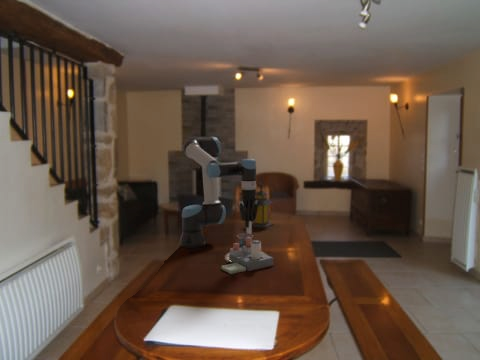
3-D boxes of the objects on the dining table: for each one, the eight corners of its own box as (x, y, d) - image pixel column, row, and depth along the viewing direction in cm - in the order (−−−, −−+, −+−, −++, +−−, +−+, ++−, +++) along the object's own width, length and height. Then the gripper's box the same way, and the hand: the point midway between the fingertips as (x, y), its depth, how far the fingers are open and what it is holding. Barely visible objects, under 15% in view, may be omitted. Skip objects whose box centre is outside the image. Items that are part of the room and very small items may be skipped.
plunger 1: (232, 251, 214) (232, 243, 214) (237, 250, 216) (237, 242, 215) (235, 253, 212) (235, 244, 211) (240, 252, 213) (240, 243, 213)
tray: (221, 269, 203) (221, 265, 203) (236, 265, 208) (236, 262, 208) (230, 274, 196) (230, 270, 196) (245, 270, 201) (245, 267, 201)
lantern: (274, 224, 300) (274, 183, 297) (265, 228, 289) (265, 185, 285) (257, 222, 308) (257, 182, 304) (247, 225, 296) (247, 184, 293)
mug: (251, 257, 222) (251, 238, 221) (234, 256, 224) (234, 237, 223) (256, 251, 234) (256, 232, 233) (240, 250, 236) (240, 231, 235)
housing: (229, 261, 215) (229, 248, 215) (252, 256, 224) (252, 243, 223) (248, 270, 201) (248, 256, 200) (273, 265, 209) (273, 251, 208)
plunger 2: (244, 245, 218) (244, 237, 218) (249, 245, 220) (249, 236, 219) (248, 247, 216) (248, 238, 215) (252, 246, 218) (252, 238, 217)
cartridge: (249, 265, 209) (249, 241, 208) (257, 263, 212) (257, 239, 210) (254, 267, 205) (254, 243, 204) (262, 266, 208) (262, 241, 206)
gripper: (242, 190, 208) (242, 236, 210) (263, 188, 215) (263, 232, 217) (234, 189, 214) (234, 233, 216) (254, 187, 221) (254, 230, 224)
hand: (249, 233), depth 217 cm, fingers closed
